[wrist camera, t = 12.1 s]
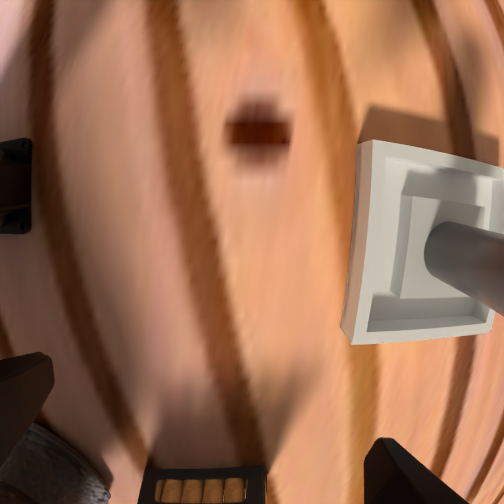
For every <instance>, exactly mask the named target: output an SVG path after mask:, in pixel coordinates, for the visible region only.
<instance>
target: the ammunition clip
mask: <svg viewBox="0 0 504 504" xmlns="http://www.w3.org/2000/svg"><path fill="white" fill-rule="evenodd" d="M245 493H246V499H245ZM223 499H224V503H223ZM202 501H203V502H202ZM181 502H182V503H181ZM137 504H267V475H266V470H265V466H263V465H257V466H246V467H233V468H216V469H152V468H146V469H145V471H144V475H143V480H142V484H141V489H140V494H139V498H138V503H137Z"/></svg>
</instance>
